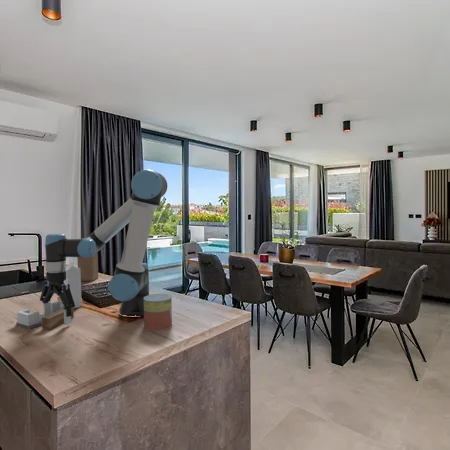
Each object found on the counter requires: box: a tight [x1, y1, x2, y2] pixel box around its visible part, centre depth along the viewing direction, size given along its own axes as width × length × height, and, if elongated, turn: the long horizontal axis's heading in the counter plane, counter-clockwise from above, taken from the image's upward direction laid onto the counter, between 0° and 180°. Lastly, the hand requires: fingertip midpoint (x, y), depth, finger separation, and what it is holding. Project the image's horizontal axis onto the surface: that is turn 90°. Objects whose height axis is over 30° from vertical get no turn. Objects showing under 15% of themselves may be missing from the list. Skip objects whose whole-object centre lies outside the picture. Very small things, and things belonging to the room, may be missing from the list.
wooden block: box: [76, 251, 99, 282], centre depth 220 cm, size 10×10×20 cm
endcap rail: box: [15, 300, 65, 330], centre depth 144 cm, size 10×19×6 cm, turn 150°
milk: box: [64, 261, 83, 309], centre depth 162 cm, size 6×6×22 cm
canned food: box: [143, 293, 173, 332], centre depth 135 cm, size 11×11×12 cm
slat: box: [41, 308, 75, 331], centre depth 139 cm, size 4×15×5 cm, turn 169°
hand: (57, 320), depth 140 cm, fingers open, 13 cm apart
